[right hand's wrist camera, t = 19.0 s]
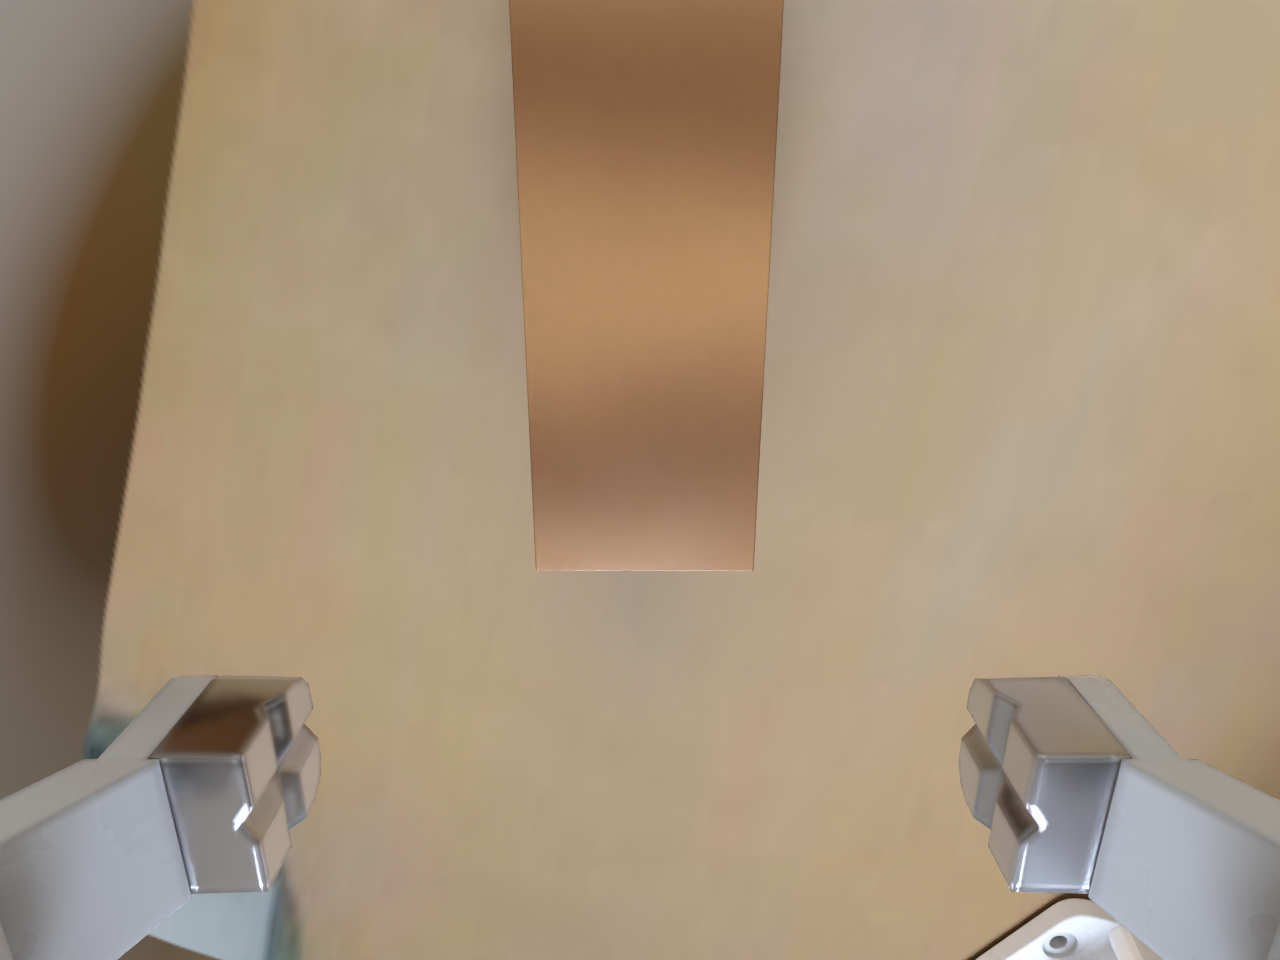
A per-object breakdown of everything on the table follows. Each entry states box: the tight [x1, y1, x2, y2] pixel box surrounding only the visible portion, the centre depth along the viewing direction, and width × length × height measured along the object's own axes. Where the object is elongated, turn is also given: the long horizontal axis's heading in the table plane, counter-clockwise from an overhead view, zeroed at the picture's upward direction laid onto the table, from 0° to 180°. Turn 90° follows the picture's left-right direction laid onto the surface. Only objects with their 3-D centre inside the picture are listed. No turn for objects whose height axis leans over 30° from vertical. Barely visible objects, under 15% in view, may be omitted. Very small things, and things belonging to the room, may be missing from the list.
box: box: [509, 0, 784, 571], centre depth 25 cm, size 21×6×12 cm, turn 0°
